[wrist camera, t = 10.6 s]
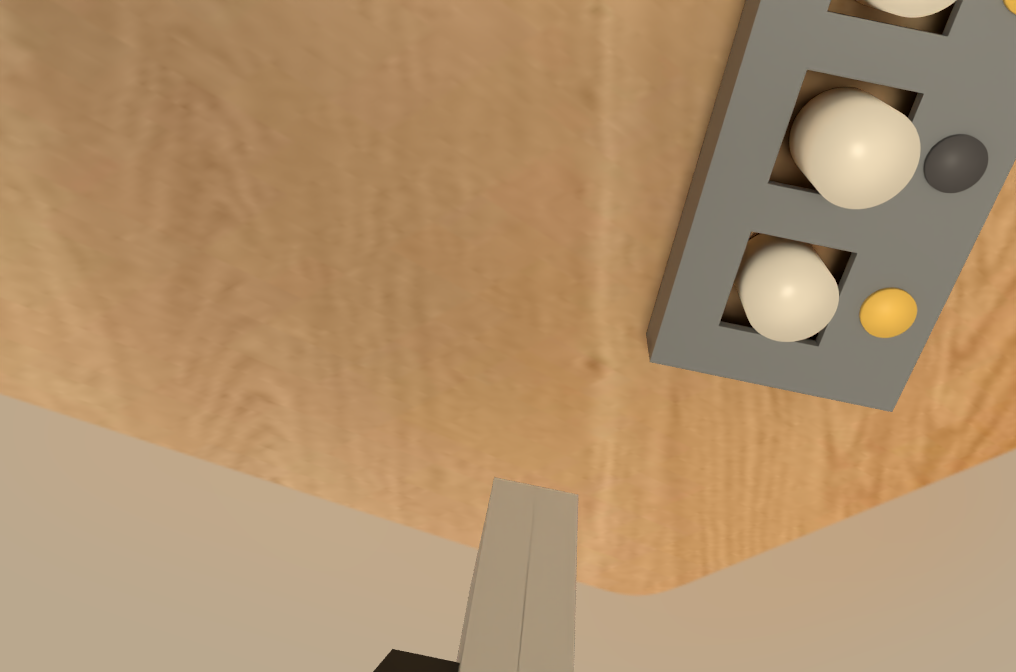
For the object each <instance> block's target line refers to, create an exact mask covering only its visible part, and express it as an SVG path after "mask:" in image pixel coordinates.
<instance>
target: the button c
mask: <svg viewBox="0 0 1016 672" xmlns="http://www.w3.org/2000/svg"><path fill="white" fill-rule="evenodd" d="M856 1H857V2H859V3H861V4H863V5H865V6H869V7H872V8H875V9H879V10H882V11H885V12H888V13H892V14H895V15H899V16H902V17H909V18H913V17H924V16H928V15H931V14H934V13H937V12H939V11H941V10H943V9H945V8H947V7H948V6H949V5H951V4H952V3H954V2H955V1H956V0H856Z"/></svg>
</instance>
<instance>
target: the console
mask: <svg viewBox="0 0 1016 672" xmlns="http://www.w3.org/2000/svg"><path fill="white" fill-rule="evenodd" d="M830 2H831V0H746V2H745V5H744V8H743V12H742V15H741V18H740V22H739V25H738V28H737V32H736V35H735V38H734V42H733V45H732V48H731V52H730V55H729V58H728V62H727V65H726V69H725V72H724V75H723V79H722V82H721V85H720V89H719V92H718V95H717V99H716V102H715V105H714V109H713V112H712V115H711V119H710V122H709V125H708V129H707V132H706V135H705V139H704V142H703V146H702V149H701V152H700V156H699V159H698V162H697V166H696V169H695V172H694V176H693V179H692V182H691V186H690V189H689V192H688V196H687V199H686V202H685V206H684V209H683V212H682V216H681V219H680V223H679V226H678V229H677V233H676V236H675V239H674V243H673V246H672V249H671V253H670V256H669V259H668V263H667V266H666V269H665V273H664V276H663V279H662V283H661V286H660V289H659V293H658V296H657V300H656V303H655V306H654V310H653V313H652V316H651V320H650V323H649V326H648V330H647V333H646V336H647V344H648V351H649V359H650V362H652V363H657V364H662V365H667V366H672V367H677V368H682V369H686V370H691V371H696V372H701V373H706V374H711V375H715V376H720V377H725V378H730V379H735V380H740V381H744V382H749V383H754V384H759V385H764V386H769V387H774V388H778V389H783V390H788V391H793V392H798V393H803V394H807V395H812V396H817V397H822V398H827V399H832V400H836V401H841V402H846V403H851V404H856V405H861V406H866V407H870V408H875V409H880V410H885V411H890V412H892V411H893V409H894V407H895V405H896V403H897V401H898V399H899V397H900V395H901V393H902V391H903V389H904V387H905V385H906V383H907V381H908V379H909V377H910V375H911V372H912V370H913V368H914V366H915V364H916V362H917V360H918V358H919V356H920V354H921V352H922V350H923V348H924V346H925V344H926V342H927V340H928V338H929V336H930V334H931V331H932V329H933V327H934V325H935V323H936V321H937V319H938V317H939V315H940V313H941V311H942V309H943V307H944V305H945V303H946V301H947V299H948V297H949V295H950V293H951V291H952V288H953V286H954V284H955V282H956V280H957V278H958V276H959V274H960V272H961V270H962V268H963V266H964V264H965V262H966V260H967V258H968V256H969V254H970V252H971V250H972V248H973V245H974V243H975V241H976V239H977V237H978V235H979V233H980V231H981V229H982V227H983V225H984V223H985V221H986V219H987V217H988V215H989V213H990V211H991V209H992V207H993V205H994V202H995V200H996V198H997V196H998V194H999V192H1000V190H1001V188H1002V186H1003V184H1004V182H1005V180H1006V178H1007V176H1008V174H1009V172H1010V170H1011V168H1012V166H1013V164H1014V161H1015V159H1016V0H956V2H955V4H954V7H953V9H952V12H951V14H950V17H949V19H948V21H947V24H946V26H945V29H944V31H943V33H942V35H941V34H936V33H931V32H926V31H921V30H916V29H912V28H907V27H902V26H897V25H892V24H887V23H883V22H878V21H873V20H868V19H863V18H858V17H854V16H849V15H844V14H839V13H834V12H829V11H827V10H828V7H829V4H830ZM807 70H812V71H817V72H822V73H826V74H831V75H836V76H841V77H846V78H851V79H856V80H860V81H865V82H870V83H875V84H880V85H885V86H889V87H894V88H899V89H904V90H909V91H914V92H918V94H917V96H916V99H915V101H914V104H913V106H912V108H911V111H910V113H909V116H908V119H909V120H910V121H911V122H912V123H913V125H914V126H915V128H916V130H917V133H918V135H919V139H920V147H921V151H920V159H919V163H918V166H917V169H916V171H915V173H914V175H913V177H912V178H911V180H910V181H909V183H908V184H907V185H906V186H905V187H904V188H903V189H902V190H901V191H900V192H899V193H898V194H897V195H895V196H894V197H893V198H891V199H890V200H888V201H886V202H884V203H882V204H880V205H877V206H874V207H870V208H866V209H847V208H843V207H839V206H837V205H834V204H832V203H831V202H829V201H828V200H826V199H825V198H824V197H823V196H822V195H821V194H820V193H819V192H818V191H817V190H812V189H807V188H803V187H798V186H793V185H788V184H783V183H778V182H774V181H769V178H770V175H771V172H772V170H773V167H774V164H775V161H776V158H777V155H778V152H779V149H780V146H781V144H782V141H783V138H784V135H785V132H786V129H787V126H788V123H789V120H790V117H791V115H792V112H793V109H794V106H795V103H796V100H797V97H798V94H799V91H800V88H801V86H802V83H803V80H804V77H805V74H806V71H807ZM751 231H753V232H757V233H762V234H767V235H772V236H777V237H782V238H786V239H791V240H796V241H801V242H806V243H811V244H815V245H820V246H825V247H830V248H835V249H840V250H844V251H849V252H852V254H851V256H850V258H849V261H848V263H847V266H846V268H845V270H844V273H843V275H842V278H841V280H840V283H839V285H838V290H839V302H838V307H837V310H836V312H835V314H834V316H833V318H832V319H831V321H830V322H829V323H828V324H827V325H826V326H825V327H824V328H823V329H822V330H821V331H819V333H818V336H817V338H816V341H814V340H809V339H803V340H799V341H794V342H780V341H775V340H771V339H769V338H766V337H765V336H763V335H761V334H760V333H758V332H757V331H756V330H755V329H754V328H751V327H746V326H741V325H737V324H732V323H727V322H722V321H720V320H721V317H722V314H723V312H724V309H725V306H726V303H727V300H728V297H729V294H730V291H731V288H732V286H733V283H734V280H735V277H736V274H737V271H738V268H739V265H740V262H741V259H742V257H743V254H744V251H745V248H746V245H747V242H748V239H749V236H750V233H751Z"/></svg>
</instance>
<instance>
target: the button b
mask: <svg viewBox="0 0 1016 672" xmlns="http://www.w3.org/2000/svg"><path fill="white" fill-rule="evenodd" d="M789 147H790V152H791V156H792V158H793V160H794V162H795V164H796V165H797V167H798V168H799V169H800V170H801V171H802V173H803V174H804V175H805V176H806V177H807V179H808V180H809V181H810V182H811V183H812V184H813V186H814V187H815V188H816V189H817V190H818V192H819V193H820V194H821V195H822V196H823V197H824V198H825V199H826V200H828V201H829V202H831V203H832V204H834V205H837V206H839V207H843V208H847V209H866V208H870V207H874V206H877V205H880V204H882V203H884V202H886V201H888V200H890V199H891V198H893V197H894V196H895V195H897V194H898V193H899V192H900V191H901V190H902V189H903V188H904V187H905V186H906V185H907V184H908V183H909V181H910V180H911V178H912V177H913V175H914V173H915V171H916V169H917V166H918V163H919V159H920V151H921V147H920V139H919V135H918V133H917V130H916V128H915V126H914V125H913V123H912V122H911V121H910V120H909V119H908V118H907V117H906V116H905V115H904V114H902V113H900V112H899V111H897V110H896V109H894V108H892V107H891V106H889V105H888V104H886V103H884V102H883V101H881V100H879V99H878V98H876V97H875V96H873V95H871V94H870V93H868V92H866V91H864V90H861V89H858V88H852V87H840V88H835V89H831V90H828V91H825V92H823V93H821V94H819V95H817V96H816V97H814V98H813V99H811V100H810V101H809V102H808V103H807V104H806V105H805V106H804V107H803V108H802V109H801V110H800V112H799V113H798V115H797V116H796V118H795V120H794V122H793V125H792V128H791V131H790V137H789Z"/></svg>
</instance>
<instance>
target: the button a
mask: <svg viewBox="0 0 1016 672" xmlns="http://www.w3.org/2000/svg"><path fill="white" fill-rule="evenodd" d="M734 284H735V287H736V290H737V292H738V295H739V297H740V300H741V302H742V305H743V307H744V310H745V313H746V315H747V318H748V320H749V322H750V324H751V325H752V326H753V328H754V329H755V330H756V331H757V332H758V333H760V334H761V335H763V336H765V337H766V338H769V339H771V340H775V341H780V342H794V341H799V340H803V339H806V338H808V337H811V336H813V335H814V334H816V333H818V332H819V331H821V330H822V329H823V328H824V327H825V326H826V325H827V324H828V323H829V322H830V321H831V319H832V318H833V316H834V314H835V312H836V310H837V307H838V302H839V290H838V286H837V283H836V281H835V279H834V278H833V276H832V275H831V273H830V272H829V270H828V269H827V267H826V266H825V264H824V263H823V261H822V260H821V258H820V257H819V255H818V254H817V252H816V251H815V249H814V248H813V247H812V245H811V244H810V243H806V242H801V241H796V240H791V239H786V238H782V237H777V236H772V235H767V234H762V233H761V234H759V235H757V236H755V237H753V238H752V239H750V240H749V241H748V242H747V245H746V248H745V251H744V254H743V257H742V259H741V262H740V265H739V268H738V271H737V274H736V277H735V280H734Z"/></svg>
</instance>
